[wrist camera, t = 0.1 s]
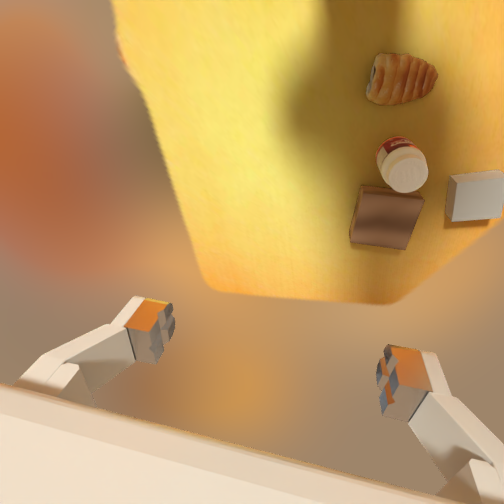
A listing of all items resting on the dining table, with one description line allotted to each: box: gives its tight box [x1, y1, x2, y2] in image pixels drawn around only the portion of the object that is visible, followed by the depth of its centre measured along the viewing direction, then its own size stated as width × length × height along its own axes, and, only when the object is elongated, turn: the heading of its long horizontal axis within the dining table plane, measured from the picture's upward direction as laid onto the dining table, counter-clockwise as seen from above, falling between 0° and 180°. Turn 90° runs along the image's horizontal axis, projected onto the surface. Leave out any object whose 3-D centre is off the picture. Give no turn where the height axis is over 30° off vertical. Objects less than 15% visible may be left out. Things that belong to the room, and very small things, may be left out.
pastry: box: [366, 53, 438, 105], centre depth 44 cm, size 9×7×4 cm
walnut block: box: [349, 185, 425, 250], centre depth 55 cm, size 10×10×4 cm
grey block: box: [445, 170, 504, 222], centre depth 50 cm, size 7×7×4 cm
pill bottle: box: [376, 136, 428, 193], centre depth 46 cm, size 6×6×11 cm
